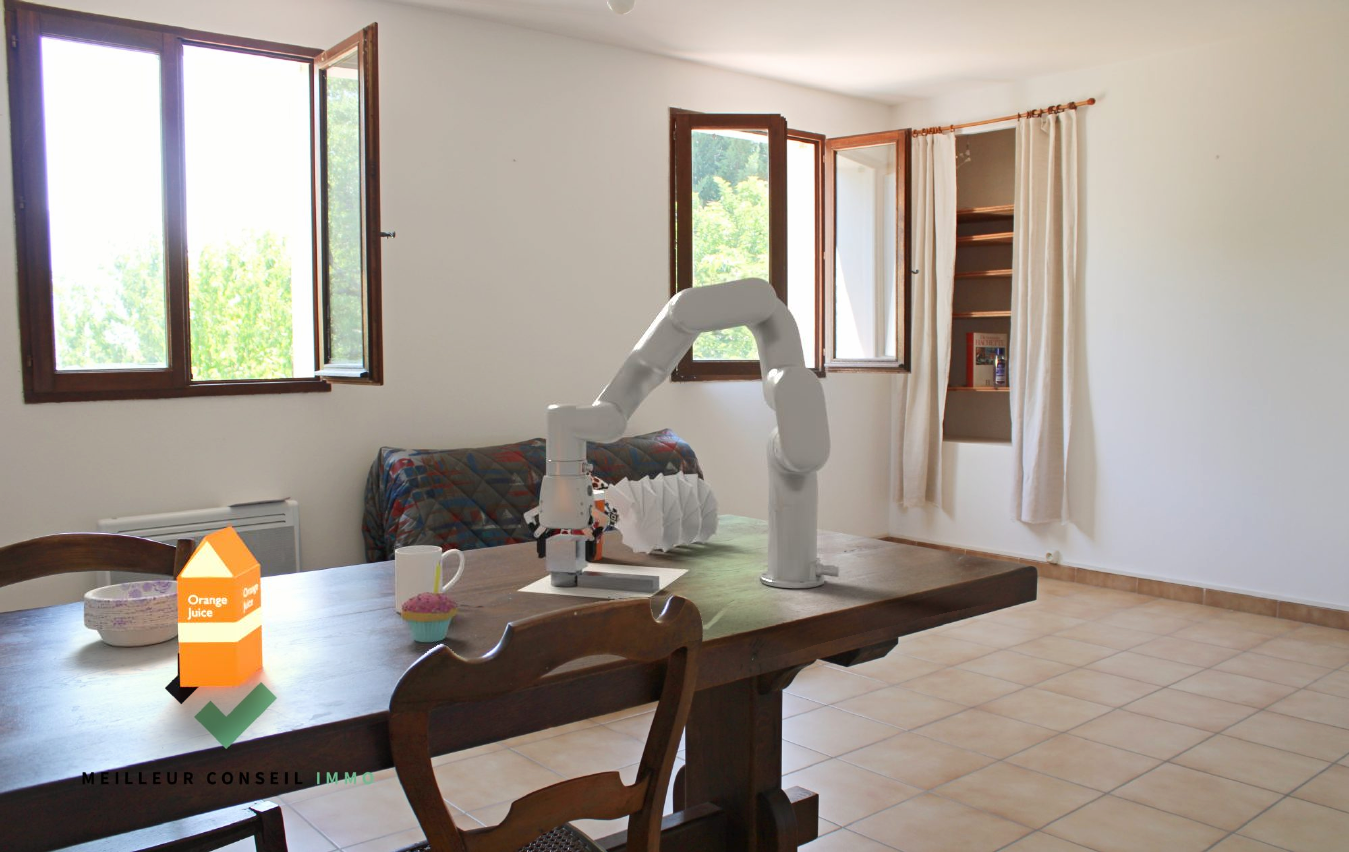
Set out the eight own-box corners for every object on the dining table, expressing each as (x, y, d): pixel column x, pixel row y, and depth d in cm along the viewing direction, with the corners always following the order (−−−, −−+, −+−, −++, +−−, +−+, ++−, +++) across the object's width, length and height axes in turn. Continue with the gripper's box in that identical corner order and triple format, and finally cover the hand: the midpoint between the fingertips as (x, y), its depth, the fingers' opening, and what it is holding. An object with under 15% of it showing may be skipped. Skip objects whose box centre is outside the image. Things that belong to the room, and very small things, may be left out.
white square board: (689, 572, 204) (689, 569, 204) (644, 604, 177) (644, 601, 177) (576, 564, 211) (576, 561, 211) (516, 594, 185) (516, 590, 185)
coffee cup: (604, 564, 212) (604, 494, 211) (566, 564, 212) (565, 494, 211) (608, 556, 220) (608, 489, 219) (571, 556, 220) (570, 488, 219)
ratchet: (545, 586, 188) (545, 549, 188) (558, 579, 194) (558, 544, 194) (651, 594, 182) (651, 556, 182) (661, 587, 188) (661, 550, 187)
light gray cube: (587, 566, 192) (587, 535, 192) (575, 572, 186) (575, 540, 186) (559, 564, 194) (558, 533, 194) (546, 570, 188) (545, 539, 188)
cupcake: (435, 628, 161) (434, 554, 160) (469, 637, 156) (468, 561, 155) (390, 639, 154) (388, 562, 154) (423, 649, 149) (422, 570, 148)
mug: (404, 617, 168) (403, 555, 167) (389, 607, 174) (388, 548, 173) (473, 607, 174) (472, 548, 174) (455, 598, 181) (455, 541, 180)
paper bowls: (180, 621, 165) (179, 573, 164) (209, 640, 154) (208, 589, 153) (74, 637, 155) (73, 587, 154) (97, 659, 144) (95, 605, 143)
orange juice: (263, 666, 141) (260, 525, 140) (238, 686, 132) (234, 536, 131) (207, 666, 141) (203, 525, 139) (178, 686, 132) (173, 536, 130)
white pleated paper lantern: (713, 561, 236) (639, 572, 217) (664, 521, 246) (590, 529, 228) (742, 495, 230) (669, 500, 211) (691, 457, 241) (617, 459, 222)
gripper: (616, 468, 190) (616, 557, 191) (533, 465, 195) (533, 552, 196) (601, 472, 183) (601, 565, 184) (515, 469, 188) (516, 559, 189)
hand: (566, 558), depth 190 cm, fingers open, 9 cm apart
